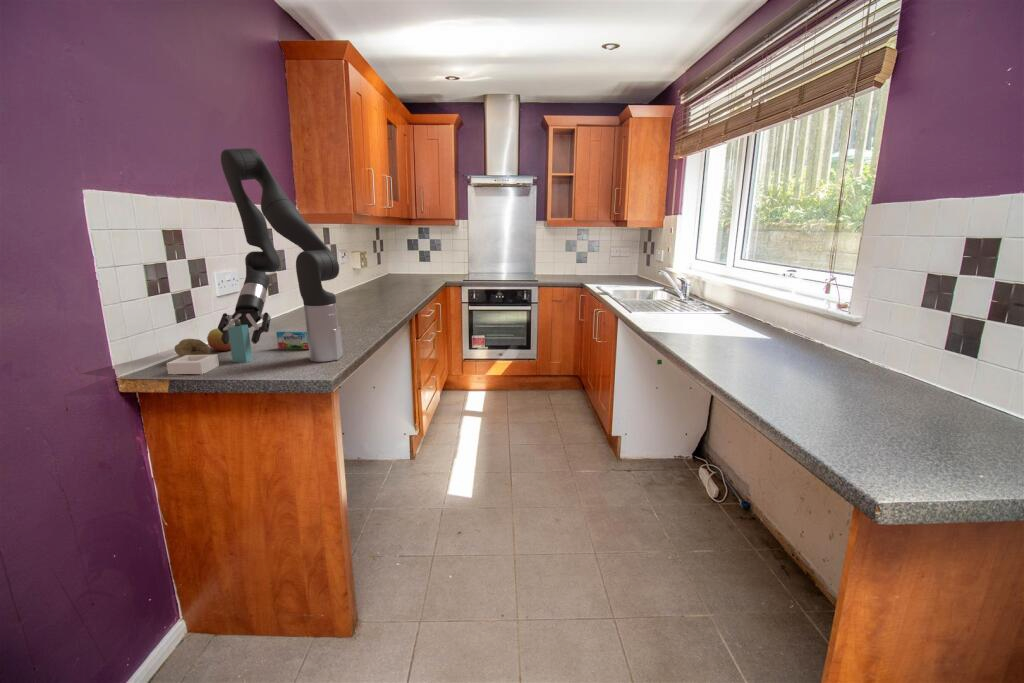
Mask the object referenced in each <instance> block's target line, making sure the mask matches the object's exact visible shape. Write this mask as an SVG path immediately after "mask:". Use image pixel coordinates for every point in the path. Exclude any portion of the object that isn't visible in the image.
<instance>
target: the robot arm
mask: <svg viewBox="0 0 1024 683" xmlns="http://www.w3.org/2000/svg"><path fill="white" fill-rule="evenodd" d="M220 163H221V168H222V171H223V174H224V177H225V179H226V183H227V185H228V187H229V190H230V192H231V196H232V198H233V200H234V203H235V205H236V208H237V210H238V213H239V216H240V220H241V223H242V227H243V232H244V236H245V241H246V243H247V244H248V246H249V245H250V246H252V247H255V248H259V249H260V250H261V251H259V250H258V251H257V250H256V251H250V252H248V253H247V254H246V255H245V260H244V261H245V262H244V263H245V280H244V282H243V286H242V288H241V290H240V292H239V295H238V298H237V301H236V305H235V309H234V313H232V314H227V313H226V312H224V313H222V316H221V318H220V321H219V322H218V325H217V328H218V329H219V330H220V331H221V332H222V333H223V334H222V338H221V340H222V342H223V343H224V344H228V342H229V332H228V327H230V326H233V325H235V323H234V320H235V319H240V322H241V325H248V329H251V328H252V327H253V328H254V330H253V332H252V336H251V338H250V342H251V343H252V344H254V345H256V344H257V343H258V342H259V341H260V338H261V334H263V333H268V332H269V329H270V325H271V324H270V323H271V319H272V317H271V316H270V314H269V313H268V312H264V313H263V311H264V307H265V303H266V298H267V292H268V289H269V285H270V278H269V276H268V274H266V273H275V272H278V271H279V269H280V268H281V259H280V256H279V253H278V252H277V250H276V249H275V247H274V245H273V242H272V241H271V238H270V233H269V230H268V225H267V223H269V224H270V226H271V228H272V229H273V230H274V231H275V232H277V234H279V235H280V236H282V237H283V238H285V239H286V240H288V241H290V242H291V243H292V244H294V245H296V246H297V247H299V248H300V249H301V250H302V251H301V252H299V253H298V254H297V257H296V259H295V260H296V261H295V271H296V277H297V283H298V288H299V294H300V296H301V299H302V302H303V310H304V319H305V320H304V321H305V328H306V330H305V331H307V339H308V348H309V350H308V356H309V360H310V361H311V362H315V363H316V362H317V363H319V362H322V363H323V362H330V361H338V360H339V359H340V358H342V357H343V355H344V351H343V340H342V329H341V326H340V325H339V320H338V318H339V317H338V310H337V298H336V295H335V293H333V292H330V291H327V290H325V288H323V285H322V282H327V281H330V280H334V279H335V278H337V277H338V276H339V273H340V265H339V261H338V259H337V257H336V255H335V254H334V253H333V252H332V250H330V248H329V247H328V246H327V244H325V243H324V242H323V241H322V239H320V237H319V236H318V235H317V233H316V232H315V231H314V230H313V229H312V227H311V226H310V225H309V223H307V221H306V219H305V218H304V217H303V216H302V214H301V212H300V211H299V209H297V207H296V205H295V204H294V203H293V202H292V200H291V199H290V198H289V197H288V195H287V194H286V193H285V192H284V190H283V189H282V188H283V187H281V186H280V184H279V182H278V181H277V180H276V178H275V176H274V174H272V172H271V169H270V168H269V167H268V165H267V163H266V161H265V160H264V158H263V157H262V155H261V154H260V153H259V151H257V150H256V149H254V148H250V147H249V148H248V147H244V148H243V147H242V148H228V149H223V150H222V151H221V153H220ZM249 180H256V181H257V183H259V185H260V186H261V191H262V192H261V193H262V194H261V199H260V208H258V206H256V204H255V203H254V202H253V201H252V200H251V199H250V197H249V196H248V194H247V193H246V191H245V189H244V186H243V183H242V181H249ZM261 320H262V322H261V326H259V325H258V324H257V323H258V322H260V321H261Z"/></svg>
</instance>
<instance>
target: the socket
mask: <svg viewBox="0 0 1024 683" xmlns="http://www.w3.org/2000/svg"><path fill="white" fill-rule="evenodd" d="M218 354H219V353H218ZM218 354H217V353H215V354H213V353H212V354H211V353H210V355H185V356H183V357H181V356H180V357H178V358H176V359H174V360H171V361H169V362H167V363H166V368H167V374H200V375H204V374H206V373H208V372H209V371H212V370H214V369H216V368H217V367H219V366H220V362H219V355H218ZM203 373H204V374H203Z"/></svg>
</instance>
